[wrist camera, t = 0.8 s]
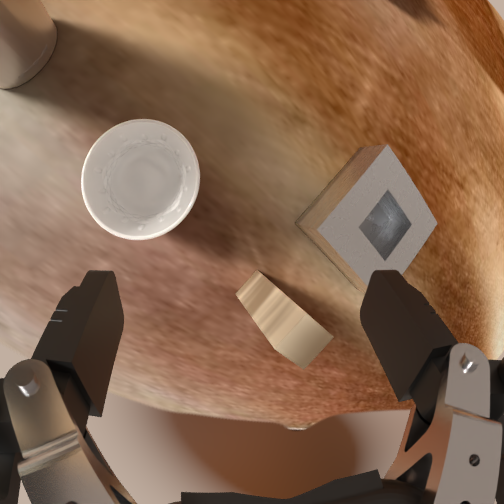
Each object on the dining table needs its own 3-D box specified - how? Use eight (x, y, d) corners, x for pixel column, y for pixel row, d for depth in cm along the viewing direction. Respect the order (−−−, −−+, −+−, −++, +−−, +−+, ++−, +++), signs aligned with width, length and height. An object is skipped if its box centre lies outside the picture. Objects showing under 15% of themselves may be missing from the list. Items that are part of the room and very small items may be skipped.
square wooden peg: (235, 294, 33) (274, 348, 22) (257, 269, 33) (306, 313, 22) (257, 312, 34) (303, 369, 23) (278, 288, 34) (333, 336, 23)
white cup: (168, 126, 27) (171, 99, 18) (201, 199, 30) (219, 206, 20) (94, 163, 26) (63, 154, 17) (128, 236, 29) (113, 260, 19)
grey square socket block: (294, 222, 33) (316, 229, 28) (360, 147, 33) (387, 144, 29) (356, 288, 37) (381, 302, 32) (410, 218, 38) (437, 223, 33)
